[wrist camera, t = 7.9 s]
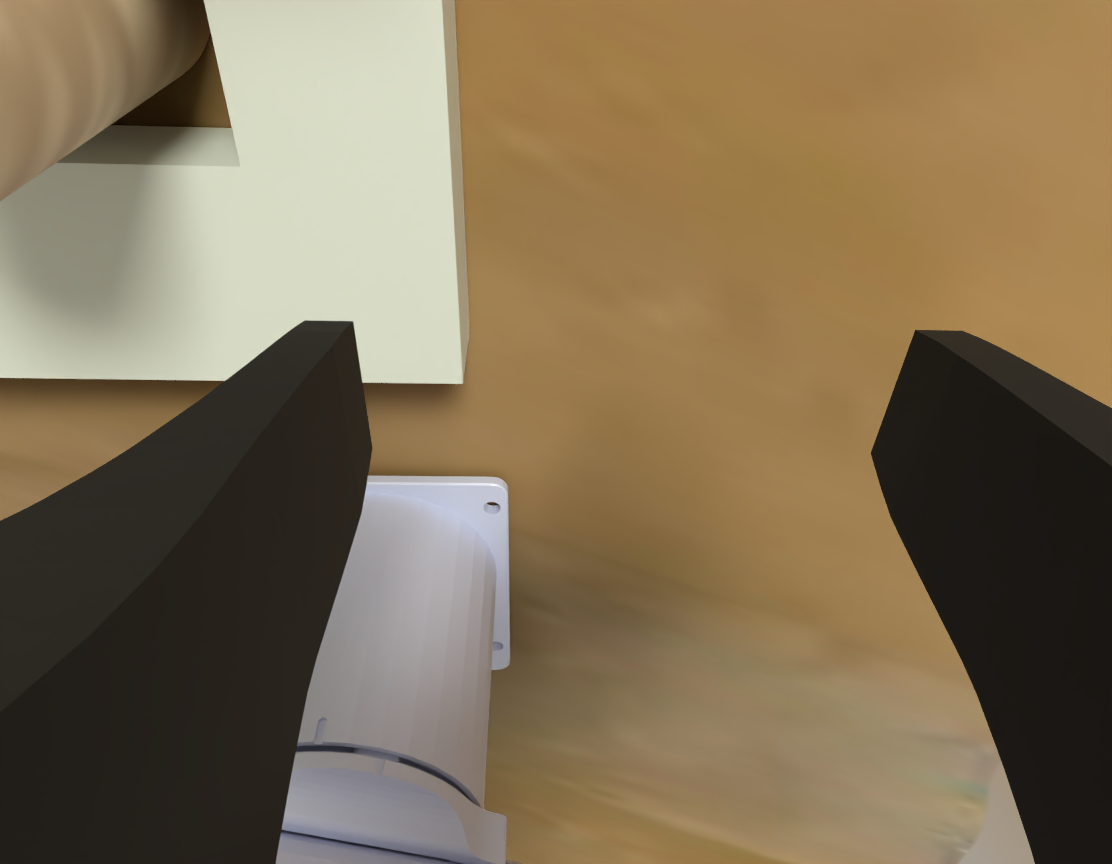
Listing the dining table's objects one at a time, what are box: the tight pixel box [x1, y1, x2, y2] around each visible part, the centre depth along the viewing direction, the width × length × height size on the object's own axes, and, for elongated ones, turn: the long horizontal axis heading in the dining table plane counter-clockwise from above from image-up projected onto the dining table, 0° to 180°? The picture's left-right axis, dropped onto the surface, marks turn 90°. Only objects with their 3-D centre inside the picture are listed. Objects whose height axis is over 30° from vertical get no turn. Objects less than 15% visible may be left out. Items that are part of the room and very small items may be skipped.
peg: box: [0, 0, 210, 201], centre depth 13 cm, size 4×4×8 cm
